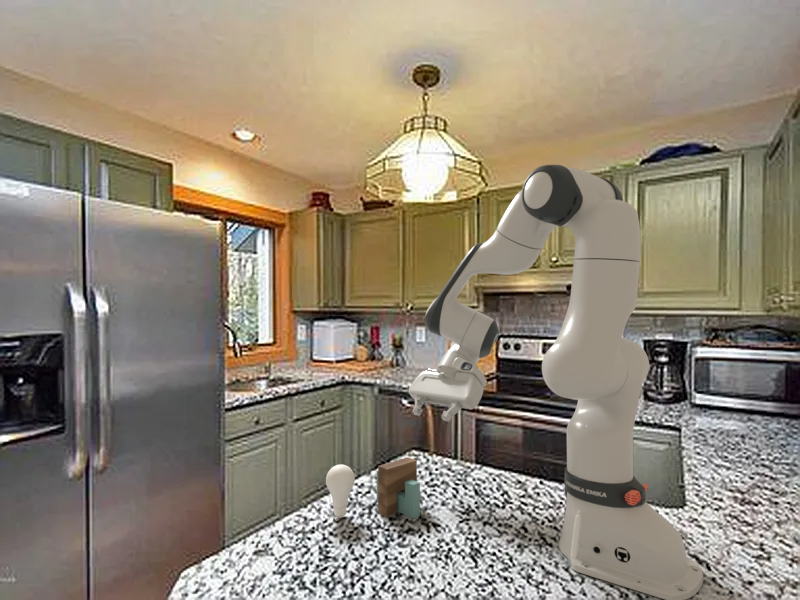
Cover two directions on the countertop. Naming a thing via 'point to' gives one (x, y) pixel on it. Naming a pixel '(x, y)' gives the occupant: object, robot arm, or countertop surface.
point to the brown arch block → (394, 483)
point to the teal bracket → (408, 499)
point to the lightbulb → (340, 487)
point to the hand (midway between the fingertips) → (429, 416)
